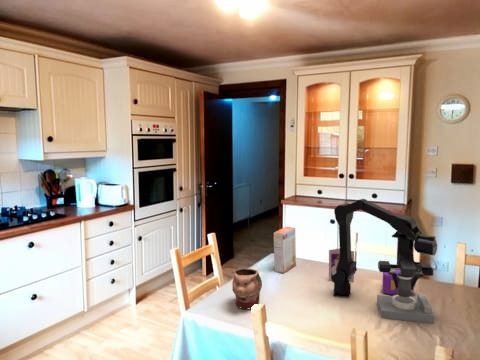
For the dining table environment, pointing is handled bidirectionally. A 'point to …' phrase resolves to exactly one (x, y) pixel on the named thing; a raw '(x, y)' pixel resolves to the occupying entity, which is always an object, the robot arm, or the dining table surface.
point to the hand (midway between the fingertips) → (403, 289)
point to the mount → (405, 308)
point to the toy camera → (390, 284)
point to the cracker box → (284, 249)
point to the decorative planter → (246, 287)
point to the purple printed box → (336, 262)
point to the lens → (404, 285)
